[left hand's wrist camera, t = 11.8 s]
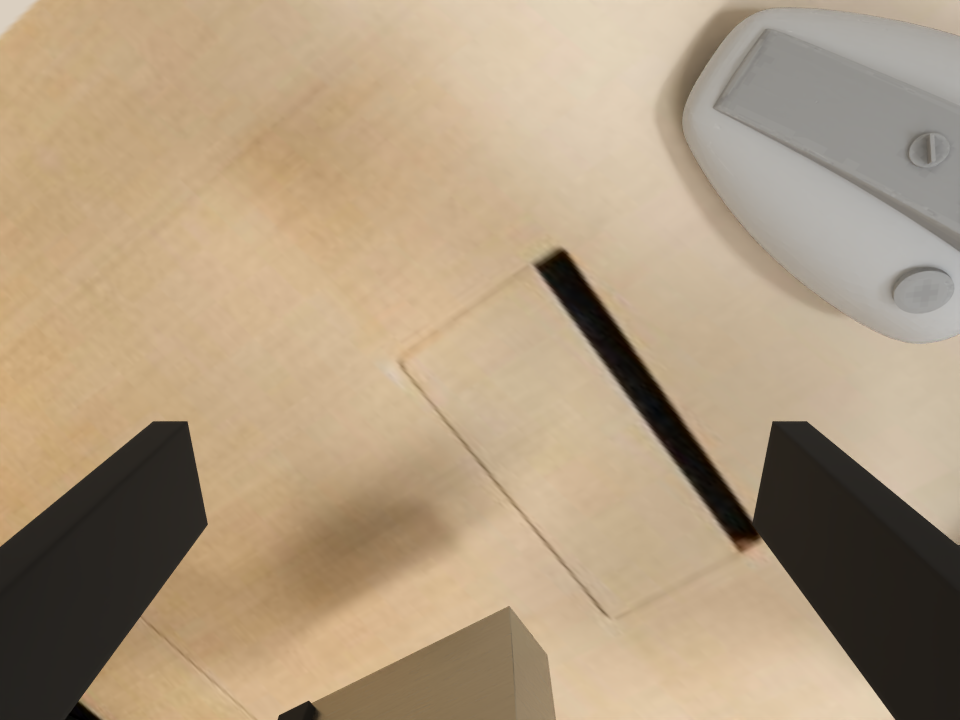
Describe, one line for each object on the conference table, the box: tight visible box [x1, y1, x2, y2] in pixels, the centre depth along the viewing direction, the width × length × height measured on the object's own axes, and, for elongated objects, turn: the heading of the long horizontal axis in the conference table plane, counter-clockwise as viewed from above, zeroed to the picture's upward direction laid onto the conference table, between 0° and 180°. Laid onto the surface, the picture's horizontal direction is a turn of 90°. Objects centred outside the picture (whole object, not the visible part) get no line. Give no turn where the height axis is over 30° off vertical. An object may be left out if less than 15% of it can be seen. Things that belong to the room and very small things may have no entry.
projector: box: [682, 7, 960, 344], centre depth 32 cm, size 22×23×15 cm
